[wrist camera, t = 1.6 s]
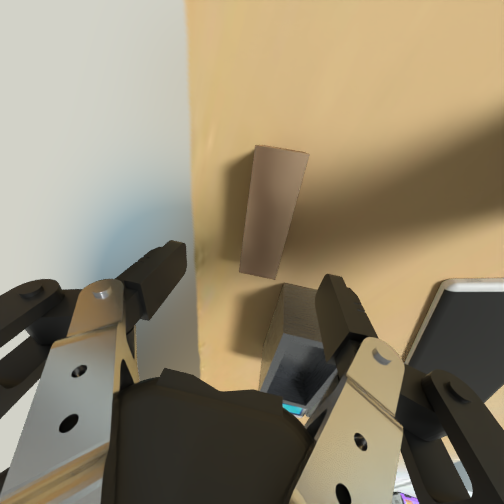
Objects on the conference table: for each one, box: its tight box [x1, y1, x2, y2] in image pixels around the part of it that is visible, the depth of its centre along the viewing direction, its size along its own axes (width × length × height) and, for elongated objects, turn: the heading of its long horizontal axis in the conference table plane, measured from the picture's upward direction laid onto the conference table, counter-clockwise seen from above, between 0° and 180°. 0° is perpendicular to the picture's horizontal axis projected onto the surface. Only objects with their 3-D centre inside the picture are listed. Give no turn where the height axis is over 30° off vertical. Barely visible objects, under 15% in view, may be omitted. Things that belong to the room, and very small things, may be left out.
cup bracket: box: [258, 283, 337, 410], centre depth 26 cm, size 8×16×8 cm, turn 172°
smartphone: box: [404, 278, 504, 403], centre depth 26 cm, size 13×27×2 cm, turn 9°
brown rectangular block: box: [239, 145, 310, 280], centre depth 18 cm, size 4×12×5 cm, turn 172°
